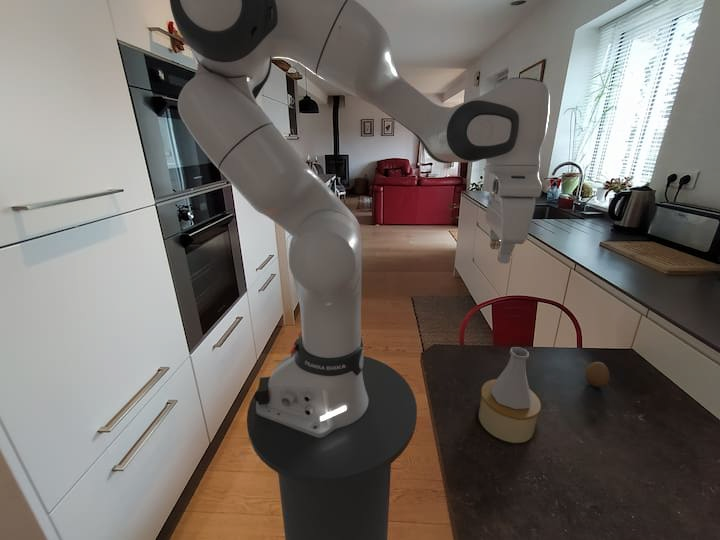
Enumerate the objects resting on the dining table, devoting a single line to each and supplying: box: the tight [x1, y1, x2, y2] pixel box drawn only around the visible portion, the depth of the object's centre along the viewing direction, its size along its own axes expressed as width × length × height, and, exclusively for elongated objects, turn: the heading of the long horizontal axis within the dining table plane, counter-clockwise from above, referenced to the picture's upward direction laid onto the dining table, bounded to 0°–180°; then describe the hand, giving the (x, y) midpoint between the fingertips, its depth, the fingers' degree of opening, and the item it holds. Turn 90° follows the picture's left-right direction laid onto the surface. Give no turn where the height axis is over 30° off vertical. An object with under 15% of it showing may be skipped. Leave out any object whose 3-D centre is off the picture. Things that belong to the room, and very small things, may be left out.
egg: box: [584, 361, 610, 388], centre depth 73 cm, size 4×4×6 cm
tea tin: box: [478, 378, 542, 444], centre depth 63 cm, size 10×10×6 cm
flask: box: [491, 346, 531, 409], centre depth 60 cm, size 7×7×10 cm
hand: (498, 254), depth 63 cm, fingers open, 8 cm apart
